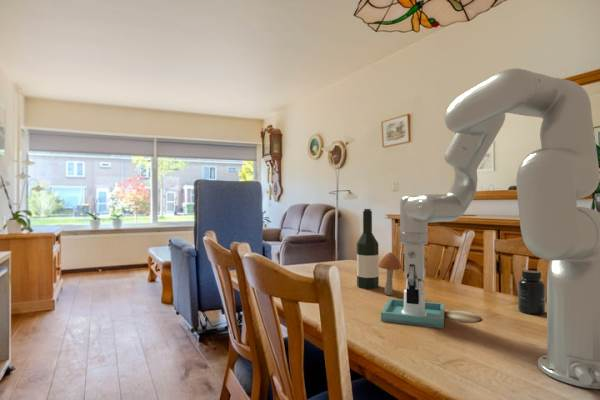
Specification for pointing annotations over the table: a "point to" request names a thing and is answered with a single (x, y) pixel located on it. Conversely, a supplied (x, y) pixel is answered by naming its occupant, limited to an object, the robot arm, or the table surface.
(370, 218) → the wine bottle
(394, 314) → the tray
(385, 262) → the mushroom
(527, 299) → the supplement bottle
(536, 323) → the table surface
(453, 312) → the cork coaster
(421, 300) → the downlight
